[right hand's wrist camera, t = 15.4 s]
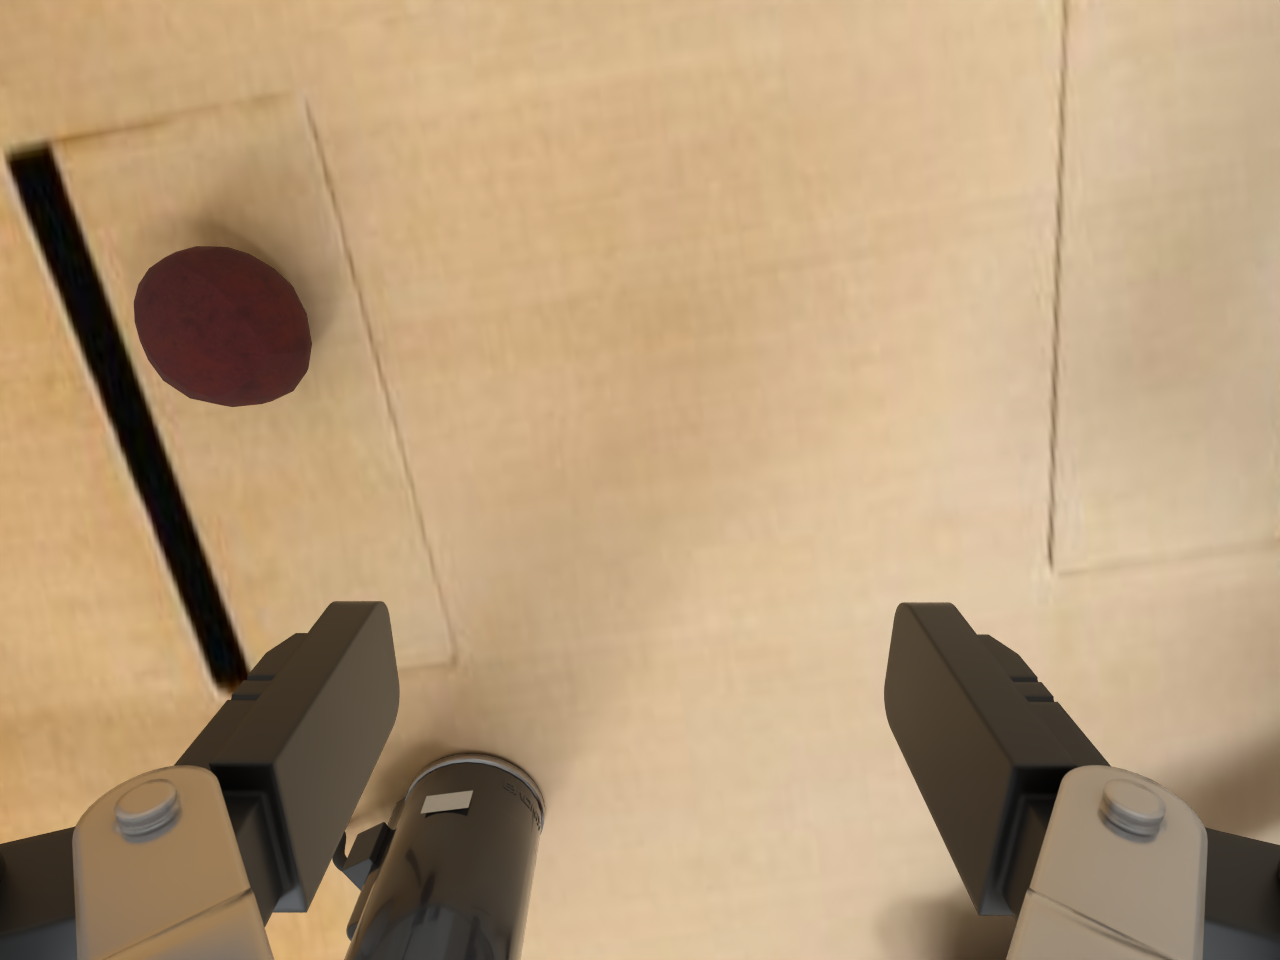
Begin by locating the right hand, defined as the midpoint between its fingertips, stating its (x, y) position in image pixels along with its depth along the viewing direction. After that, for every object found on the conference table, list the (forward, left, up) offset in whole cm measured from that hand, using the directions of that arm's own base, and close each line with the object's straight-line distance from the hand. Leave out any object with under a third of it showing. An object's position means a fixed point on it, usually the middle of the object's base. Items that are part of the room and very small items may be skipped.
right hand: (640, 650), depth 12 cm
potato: (-17, +10, -29) cm, 35 cm away
